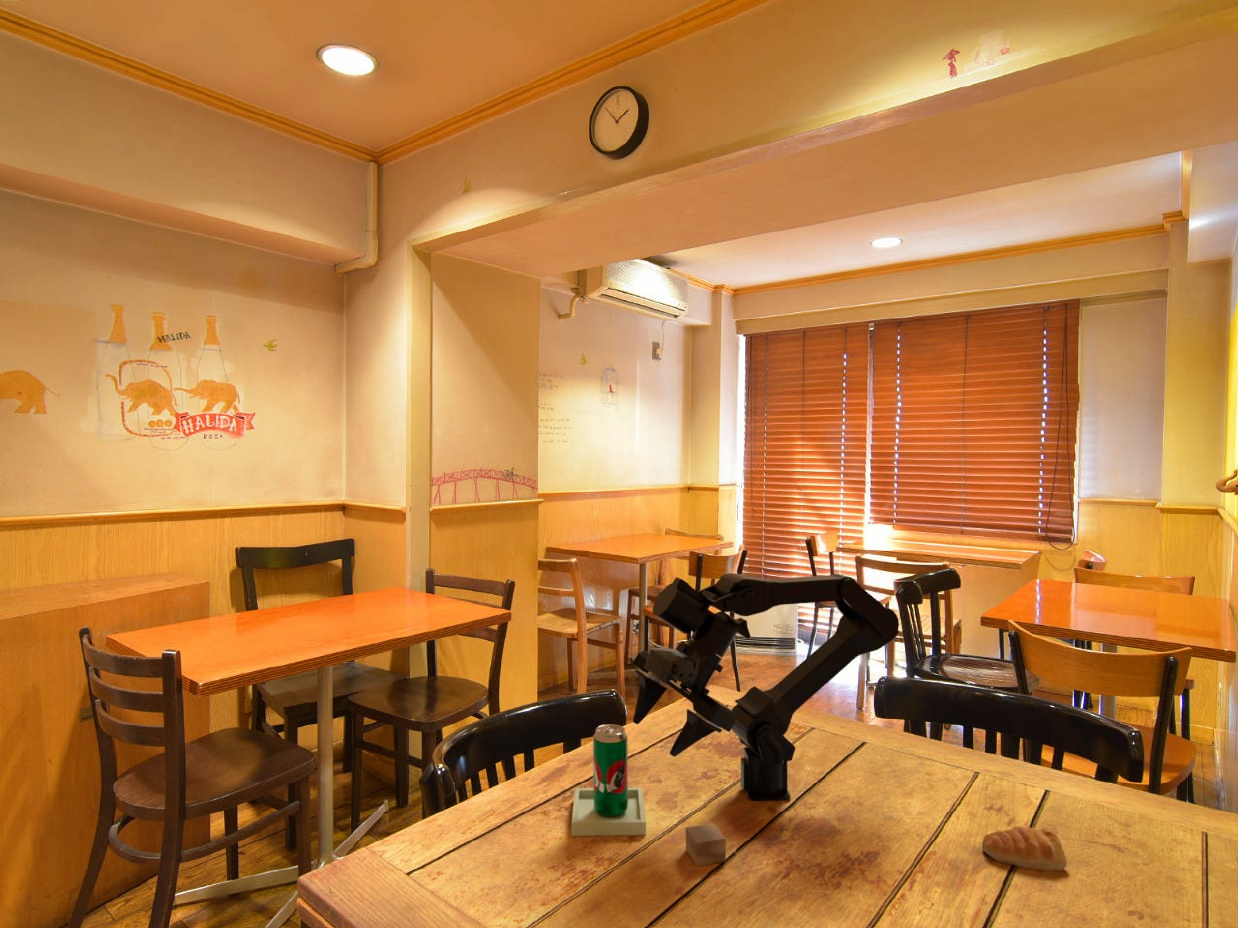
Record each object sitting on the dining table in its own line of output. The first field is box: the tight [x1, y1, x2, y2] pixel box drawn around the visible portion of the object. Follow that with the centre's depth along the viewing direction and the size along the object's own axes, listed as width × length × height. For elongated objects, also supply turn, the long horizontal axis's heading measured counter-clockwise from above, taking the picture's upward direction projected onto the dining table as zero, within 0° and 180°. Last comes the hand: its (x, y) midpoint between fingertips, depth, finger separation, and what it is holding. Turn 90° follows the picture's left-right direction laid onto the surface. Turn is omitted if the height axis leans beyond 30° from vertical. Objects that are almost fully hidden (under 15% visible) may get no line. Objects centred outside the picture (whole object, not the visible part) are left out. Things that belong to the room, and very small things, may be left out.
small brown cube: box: [685, 823, 727, 867], centre depth 94 cm, size 4×4×3 cm
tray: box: [571, 787, 647, 837], centre depth 105 cm, size 10×10×2 cm
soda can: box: [592, 723, 629, 818], centre depth 105 cm, size 5×5×12 cm
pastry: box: [981, 825, 1068, 872], centre depth 94 cm, size 9×7×4 cm
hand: (653, 738), depth 107 cm, fingers open, 9 cm apart
